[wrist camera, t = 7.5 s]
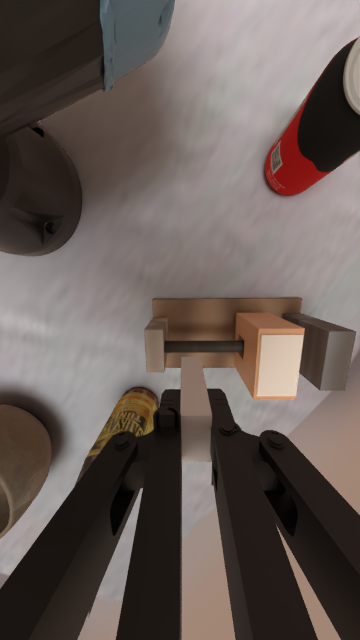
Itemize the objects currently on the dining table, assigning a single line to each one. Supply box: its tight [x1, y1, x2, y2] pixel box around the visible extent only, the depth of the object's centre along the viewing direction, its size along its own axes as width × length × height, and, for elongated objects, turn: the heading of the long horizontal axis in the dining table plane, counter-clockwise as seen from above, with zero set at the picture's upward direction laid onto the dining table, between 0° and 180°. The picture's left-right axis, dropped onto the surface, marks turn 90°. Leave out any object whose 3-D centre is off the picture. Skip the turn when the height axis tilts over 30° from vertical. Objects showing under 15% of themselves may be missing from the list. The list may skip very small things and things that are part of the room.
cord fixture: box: [144, 298, 356, 390], centre depth 24 cm, size 20×10×10 cm, turn 91°
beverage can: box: [265, 36, 360, 195], centre depth 18 cm, size 6×6×12 cm
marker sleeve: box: [234, 313, 305, 399], centre depth 22 cm, size 7×4×8 cm, turn 1°
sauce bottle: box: [75, 388, 158, 621], centre depth 22 cm, size 6×6×20 cm
